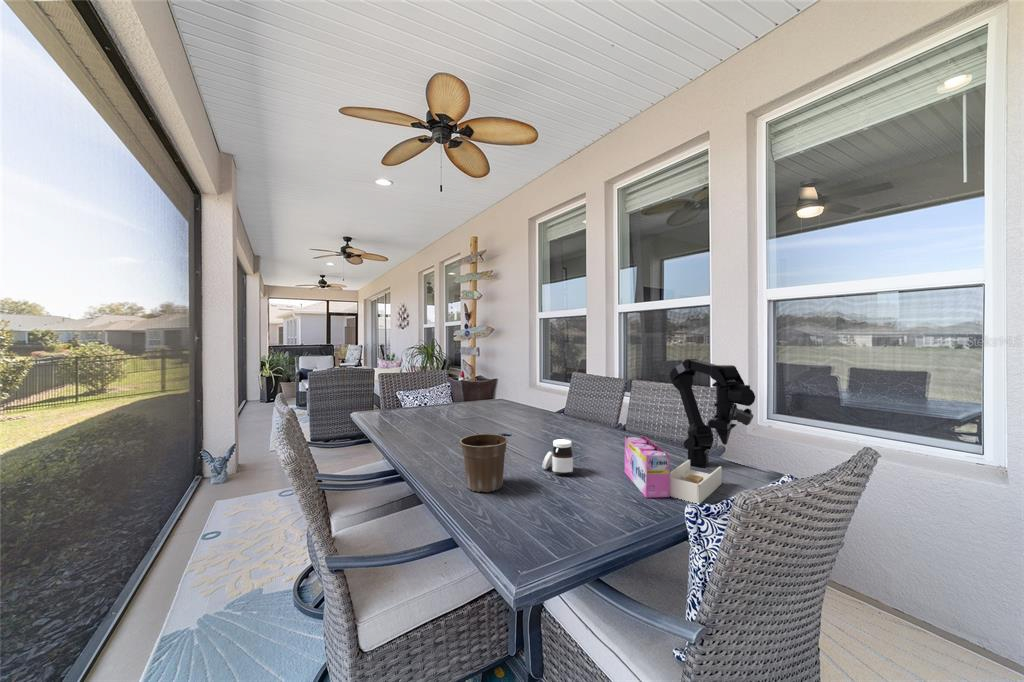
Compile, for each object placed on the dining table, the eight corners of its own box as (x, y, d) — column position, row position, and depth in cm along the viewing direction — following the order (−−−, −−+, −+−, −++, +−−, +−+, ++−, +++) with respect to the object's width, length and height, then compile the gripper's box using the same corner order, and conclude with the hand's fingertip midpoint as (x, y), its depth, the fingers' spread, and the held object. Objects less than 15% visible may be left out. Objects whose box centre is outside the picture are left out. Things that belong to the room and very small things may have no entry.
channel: (663, 494, 131) (663, 476, 131) (688, 476, 147) (688, 459, 147) (699, 504, 123) (699, 485, 123) (721, 483, 139) (721, 466, 139)
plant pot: (450, 486, 138) (450, 440, 138) (485, 474, 150) (484, 430, 150) (483, 500, 127) (482, 449, 127) (517, 485, 139) (517, 438, 139)
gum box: (622, 471, 152) (622, 435, 151) (643, 470, 152) (643, 434, 151) (645, 498, 128) (646, 455, 127) (670, 497, 128) (670, 454, 127)
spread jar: (574, 477, 146) (574, 445, 146) (543, 477, 146) (542, 445, 146) (570, 466, 158) (570, 436, 158) (541, 466, 158) (541, 436, 158)
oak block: (685, 489, 128) (685, 477, 128) (690, 486, 131) (690, 473, 131) (698, 493, 125) (698, 480, 125) (703, 489, 128) (703, 476, 128)
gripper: (743, 407, 132) (743, 455, 132) (757, 399, 145) (757, 443, 146) (707, 403, 139) (706, 448, 140) (723, 396, 153) (723, 437, 153)
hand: (724, 444), depth 145 cm, fingers closed
